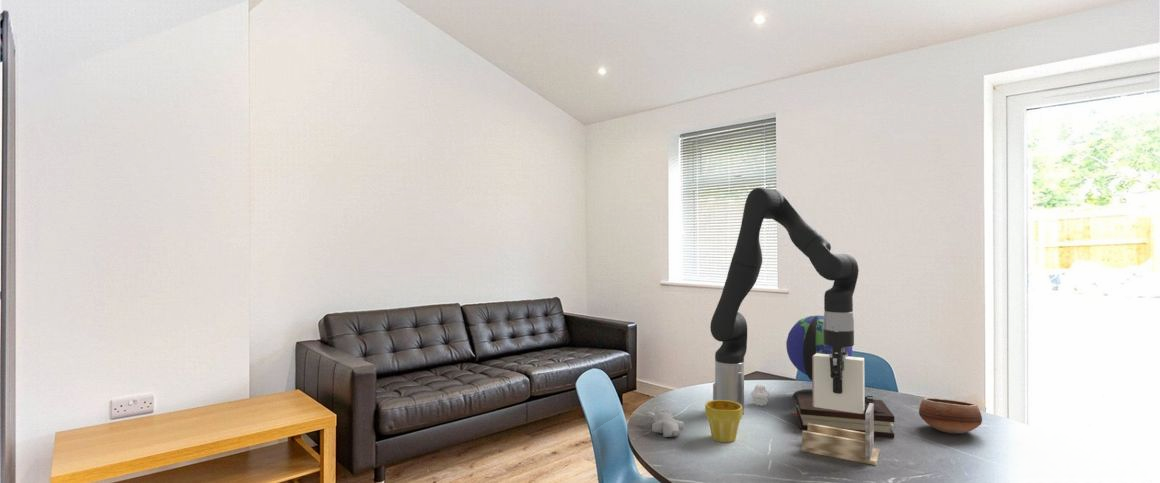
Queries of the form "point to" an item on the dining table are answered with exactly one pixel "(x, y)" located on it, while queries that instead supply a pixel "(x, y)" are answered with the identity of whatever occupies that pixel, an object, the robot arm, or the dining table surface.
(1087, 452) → the dining table surface
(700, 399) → the dining table surface
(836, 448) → the book rack
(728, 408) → the plant pot
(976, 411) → the bowl
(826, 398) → the slim book
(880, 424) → the decorative book
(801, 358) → the globe
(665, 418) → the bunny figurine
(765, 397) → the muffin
